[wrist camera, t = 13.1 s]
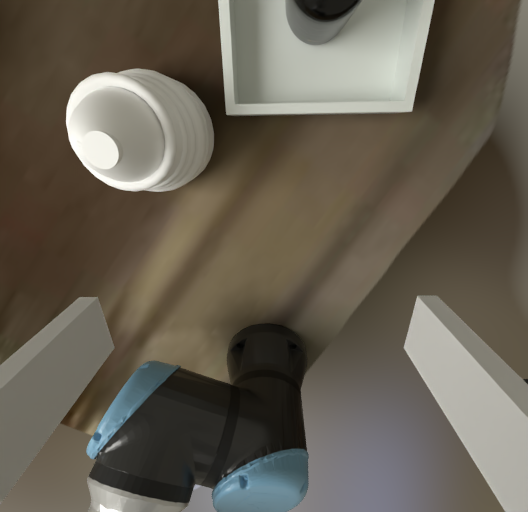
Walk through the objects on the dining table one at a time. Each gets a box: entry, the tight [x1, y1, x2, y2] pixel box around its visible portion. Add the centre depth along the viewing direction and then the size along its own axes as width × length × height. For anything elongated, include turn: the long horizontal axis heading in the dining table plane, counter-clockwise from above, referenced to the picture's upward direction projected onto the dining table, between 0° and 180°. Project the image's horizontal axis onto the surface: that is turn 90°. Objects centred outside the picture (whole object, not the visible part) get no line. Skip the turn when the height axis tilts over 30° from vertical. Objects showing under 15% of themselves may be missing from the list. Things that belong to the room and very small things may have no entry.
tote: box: [218, 0, 435, 116], centre depth 27 cm, size 20×20×5 cm
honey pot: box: [66, 68, 214, 192], centre depth 27 cm, size 13×13×18 cm
